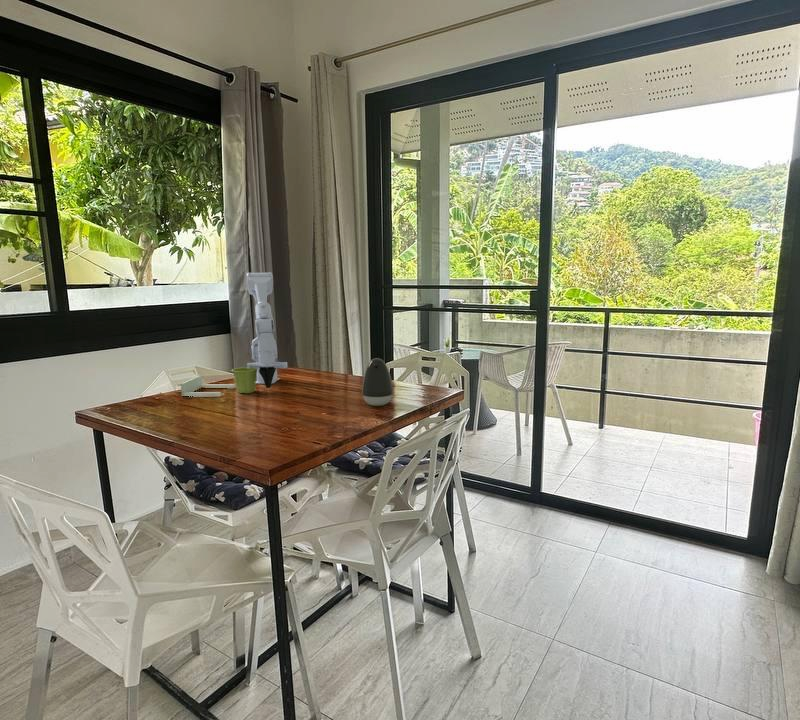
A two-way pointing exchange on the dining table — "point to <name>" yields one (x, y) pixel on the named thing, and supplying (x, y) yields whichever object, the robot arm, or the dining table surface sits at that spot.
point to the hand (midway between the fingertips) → (268, 387)
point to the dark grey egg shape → (377, 383)
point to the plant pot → (245, 379)
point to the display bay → (196, 383)
